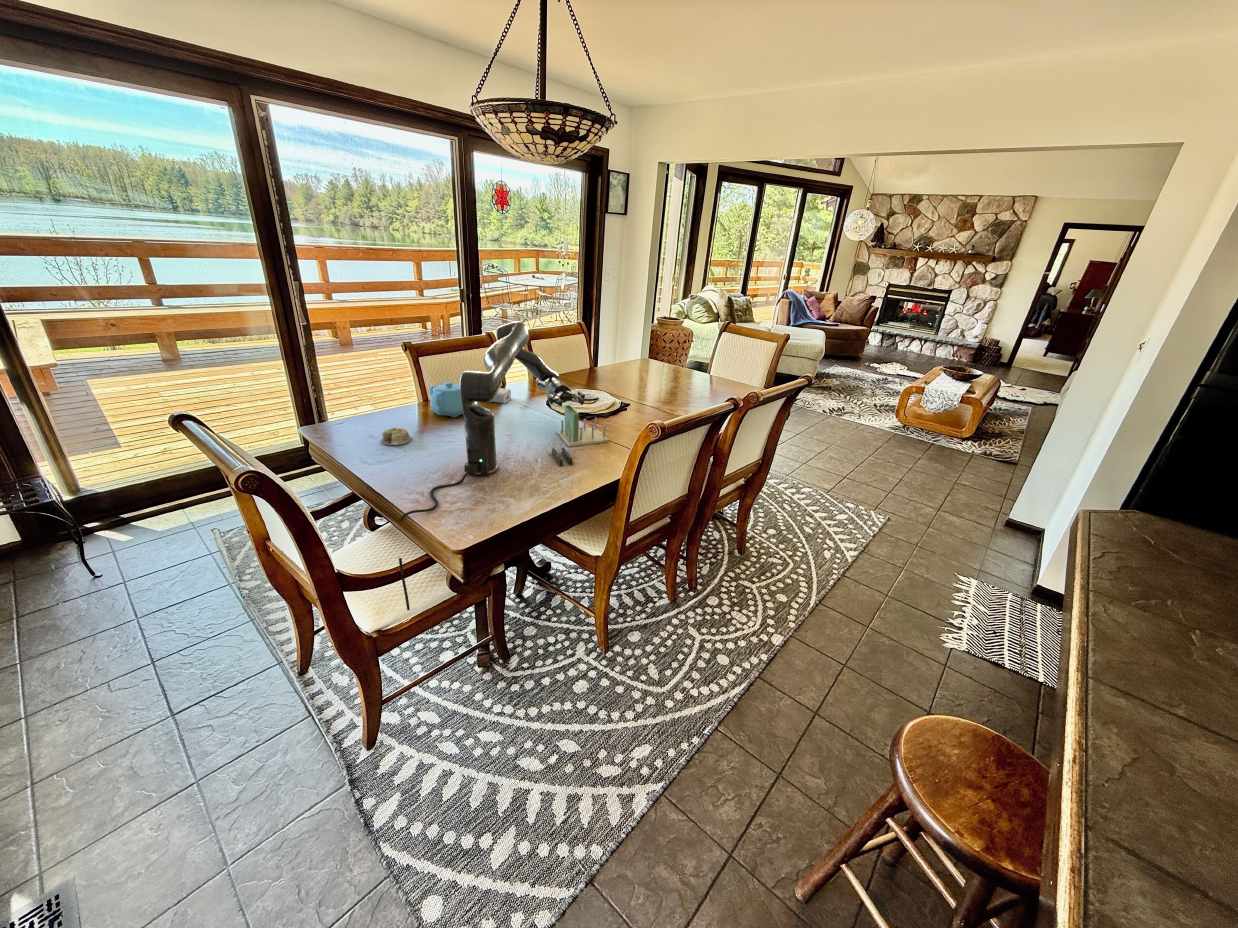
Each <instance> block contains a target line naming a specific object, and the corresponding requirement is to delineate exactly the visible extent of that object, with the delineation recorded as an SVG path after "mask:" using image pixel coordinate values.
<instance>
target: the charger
mask: <svg viewBox="0 0 1238 928" xmlns="http://www.w3.org/2000/svg"><path fill="white" fill-rule="evenodd" d="M511 398H512V389H510V388H501V387H500V388H499V391H498V393H497V396H496V397H495V399H494V400H493V401H491V402H490V403H497V404H506V403H507V402H509V401H510V400H511Z"/></svg>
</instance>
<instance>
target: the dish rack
mask: <svg viewBox="0 0 1238 928" xmlns="http://www.w3.org/2000/svg"><path fill="white" fill-rule="evenodd" d="M602 429H603V430H602V431H603V432H601V431H600V430H599V429H598V417H594V426H591V427H587V418H583V427H580V428H579V434H578V441H576V442H573V441H572V439H571V438H570V436H571V429H569V430H568V435H567V434H566V433H565V432H564V420H561V421H560V430H557V434H558V435H559V437H560V438H561V439H562V440H563V441H564V442H565V444H566V445H567V446H568V447H575V446H584V445H586V446H587V445H594V444H600V443H609V442H610V441H609V438H608V437H607V436H606V425H605V424H604V425H603V427H602Z"/></svg>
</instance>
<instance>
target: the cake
mask: <svg viewBox="0 0 1238 928" xmlns="http://www.w3.org/2000/svg"><path fill="white" fill-rule="evenodd" d="M411 440H412V439H411V437H410V433H409V431H408V430H407V429H405V428H398V427H393V428H388V429H385V430H384V431H383V432H382V437H381V443H382V444H384V445H387V446H402V445H405V444H408V443H410V442H411Z"/></svg>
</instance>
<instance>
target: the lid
mask: <svg viewBox="0 0 1238 928" xmlns="http://www.w3.org/2000/svg"><path fill="white" fill-rule="evenodd" d="M579 427H580V413H579V412H577V411H576V409H574V408H573V407H572V406H571V405H570V404H568V405H567V404H565V405H564V427H563V430H564V432H565V433H566V434H567V435H568V430H569V429H571V436H570V438H571V439H572V441H573V442H576V441H578V434H579V429H580V428H579Z"/></svg>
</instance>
